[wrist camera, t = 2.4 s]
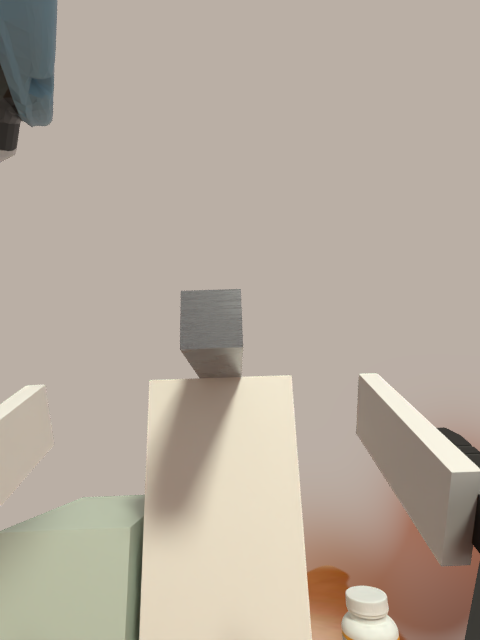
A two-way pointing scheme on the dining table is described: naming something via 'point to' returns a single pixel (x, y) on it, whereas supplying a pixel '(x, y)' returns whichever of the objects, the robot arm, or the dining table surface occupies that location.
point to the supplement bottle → (367, 615)
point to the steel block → (212, 332)
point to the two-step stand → (176, 531)
